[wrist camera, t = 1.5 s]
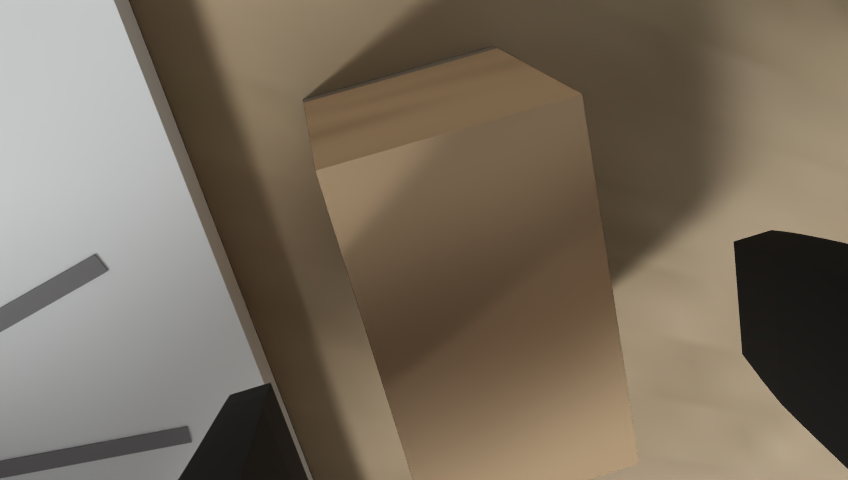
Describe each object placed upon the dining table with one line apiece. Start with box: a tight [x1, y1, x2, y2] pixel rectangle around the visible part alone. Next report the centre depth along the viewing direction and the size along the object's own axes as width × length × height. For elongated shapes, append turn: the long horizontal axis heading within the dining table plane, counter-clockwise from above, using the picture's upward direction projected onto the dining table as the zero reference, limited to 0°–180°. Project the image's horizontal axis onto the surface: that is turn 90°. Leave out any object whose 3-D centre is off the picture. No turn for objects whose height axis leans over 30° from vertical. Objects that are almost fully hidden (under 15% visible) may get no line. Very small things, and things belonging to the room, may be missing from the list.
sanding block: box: [303, 46, 639, 480], centre depth 15 cm, size 7×4×5 cm, turn 14°
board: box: [0, 0, 313, 480], centre depth 16 cm, size 18×10×1 cm, turn 14°
